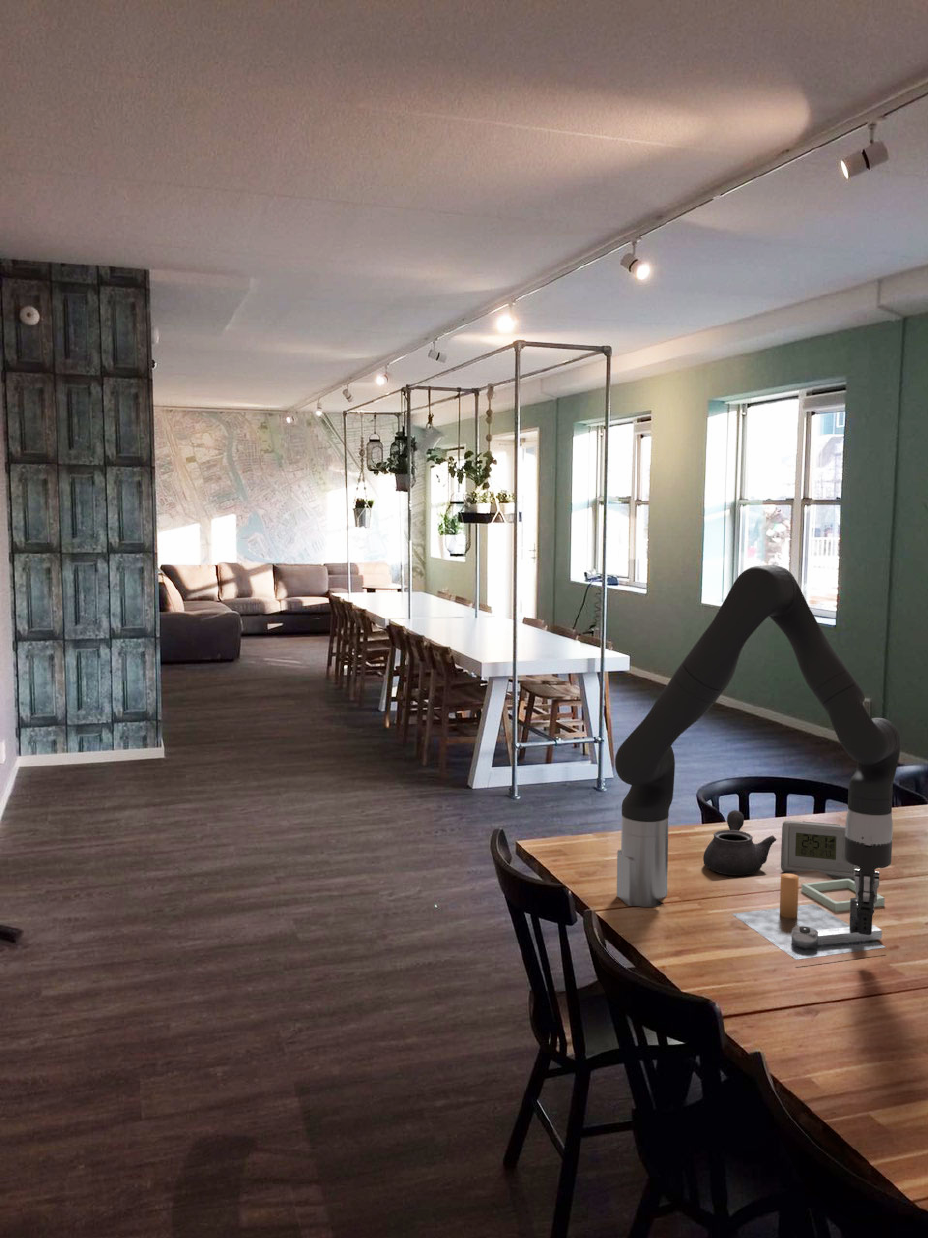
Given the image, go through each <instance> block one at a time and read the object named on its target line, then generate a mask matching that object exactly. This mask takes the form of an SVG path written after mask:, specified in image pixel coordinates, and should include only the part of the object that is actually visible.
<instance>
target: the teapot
mask: <svg viewBox="0 0 928 1238" xmlns="http://www.w3.org/2000/svg"><path fill="white" fill-rule="evenodd" d="M744 821H745V816H744V814H743V813H742V812H741V811H740V810H737V809H736V810H735V809H734V810H731V811H729V812H728V814H727V816H726V824H727V826H728V829H723V830H717V831H715V832H714V833H713V839H712V840H711V841H710V842H709V844H708V845H707V846H706V847H705V850H704V853H703V859H702V862H703V865H704V866H705V867H707V868H708V869H710V870H712V871H714V872H717V873H719V874H723V875H730V876H743V875H744V876H745V875H750V874H755V873H757V872H759V871H760V870H761V868H762V867H763V865H764V864H766V862H767V860H768V857H769V853H770V849H771V848H772V845H773V844H774V843H775V842H776V841H777V840H778V839H777V838H776V837H775V836H774V835H770V836H767V837H766V838H765V839H762V841H760V842H758V843H754V842H753V838H754V837H753V836H752V834H750V833H749V832H745V831H743V830H741V829H742V827H743V826H744V823H745V822H744Z"/></svg>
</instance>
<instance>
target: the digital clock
mask: <svg viewBox="0 0 928 1238" xmlns="http://www.w3.org/2000/svg"><path fill="white" fill-rule="evenodd" d="M845 826H846V825H841V824H836V823H825V822H814V821H813V822H812V821H795V820H784V821H783V822H782V826H781V847H780V849H781V853H780V854H781V855H780V869H781V871H782V872H784V873H787V874H794V873H801V872H802V873H803V872H808V871H809V872H810V871H815V872H816V871H817V872H820V873H822V874H823V875H825V876H828V877H829V878H831V879H835V878H837V879H836V880H840V879H851V880H855V869H859V870H860V867H858V866H856V865H852V864H850V863H848V862H847V861H846V860H845V857H844V853H845Z"/></svg>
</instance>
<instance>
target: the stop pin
mask: <svg viewBox="0 0 928 1238" xmlns="http://www.w3.org/2000/svg"><path fill="white" fill-rule="evenodd" d="M779 889H780V890H779V891H780V892H779V895H780V897H779V908H780V915H781V916H782V917H785V918H796V917H797V914H798V906H799V905H798V904H799V875H797V874H795V873H782V874H780V888H779Z"/></svg>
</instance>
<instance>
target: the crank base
mask: <svg viewBox="0 0 928 1238" xmlns="http://www.w3.org/2000/svg"><path fill="white" fill-rule="evenodd" d="M731 915H732V916H733V917H735V918H737V919H738V920H739V921H741V922H742V923H744V924H745V925H747V926H748V927H749V928H751V929H752V930H753V931H755V932H756V933H757V934H759V935H760V936H762V937H763V938H765V939H766V940H767V941H768V942H770V943H772V944H773V945H775V946H776V947H777V948H778V949H780V950H781V951H783V952H784V953H786V954H787V955H789V956H790V957H791V958H793V959H794V960H795V961H798V960H807V959H813V958H819V957H820V958H821V957H828V956H834V955H843V954H851V953H855V952H863V951H870V950H879V949H886V948H887V947H886V946H885V945H883V944H881V943H880V942H878V941H877V940H866V941H855V942H843V943H832V944H821V945H817V946H816V947H814V948H802V947H798V946H796V945H794V944H793V943H792V942H791V938H792V928H794V927H798V926H804V927H810V928H813V929H815V930H823V929H835V928H847V927H849V925H850V923H849V924H848V922H845V921H844V920H842V919H841V918H839V917H837V916H835V915H834V914H832V913H830V912H829V911H827V910H825V909H824V908H822V907H821V906H819V905H817V904H815V903H810V904H808V903H807V904H802V905H801V904H800V905H798V914H797V917H796V918H785V917H782V916H781V915H780V907H775V908H769V909H762V910H751V911H742V912H735V913H731ZM885 956H887V955H886V954H883V955H882V954H881V955H874V956H868V957H862V958H861V957H860V958H854V959H847V960H845V959H844V960H840V961H832V962H825V963H824V962H823V963H818V964H811V965H810V964H809V965H802V966H797V967H796V966H795V969H799V968H800V969H801V968H807V967H814V966H820V965H826V964H827V965H828V964H834V963H842V962H848V961H856V960H857V961H858V960H863V959H870V958H877V957H885Z"/></svg>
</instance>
